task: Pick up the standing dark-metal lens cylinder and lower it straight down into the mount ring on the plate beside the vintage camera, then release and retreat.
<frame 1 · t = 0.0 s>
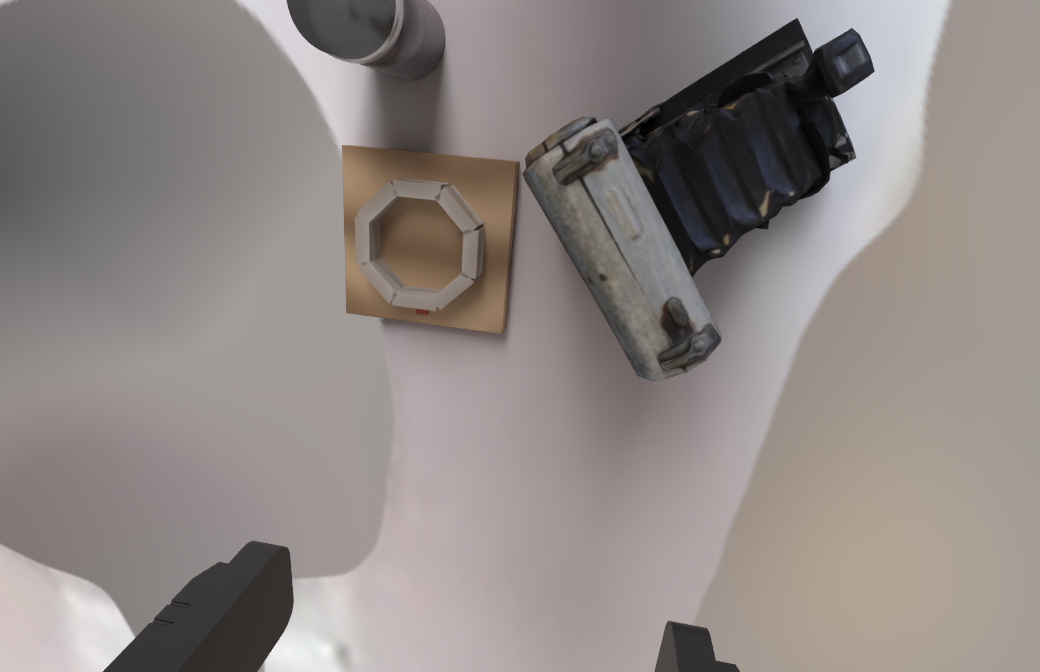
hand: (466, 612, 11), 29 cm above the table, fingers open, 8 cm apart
lens: (407, 37, 35), on the table
vintage camera: (686, 161, 35), on the table
mount: (431, 239, 39), on the table
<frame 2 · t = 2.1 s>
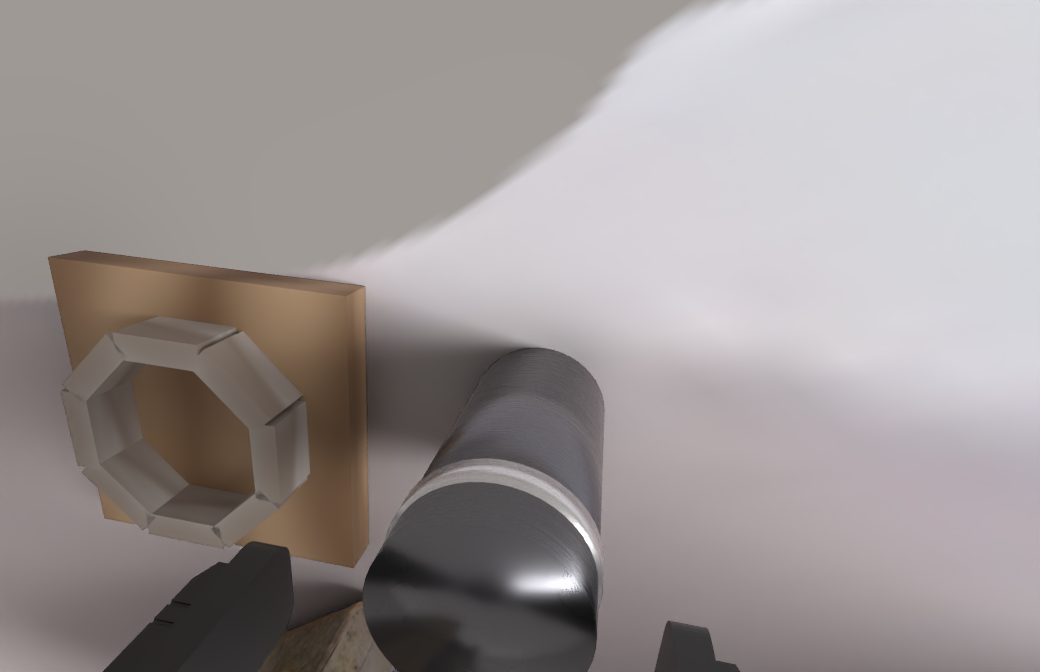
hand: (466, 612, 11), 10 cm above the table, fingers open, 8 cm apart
lens: (538, 409, 20), on the table
mount: (234, 405, 23), on the table
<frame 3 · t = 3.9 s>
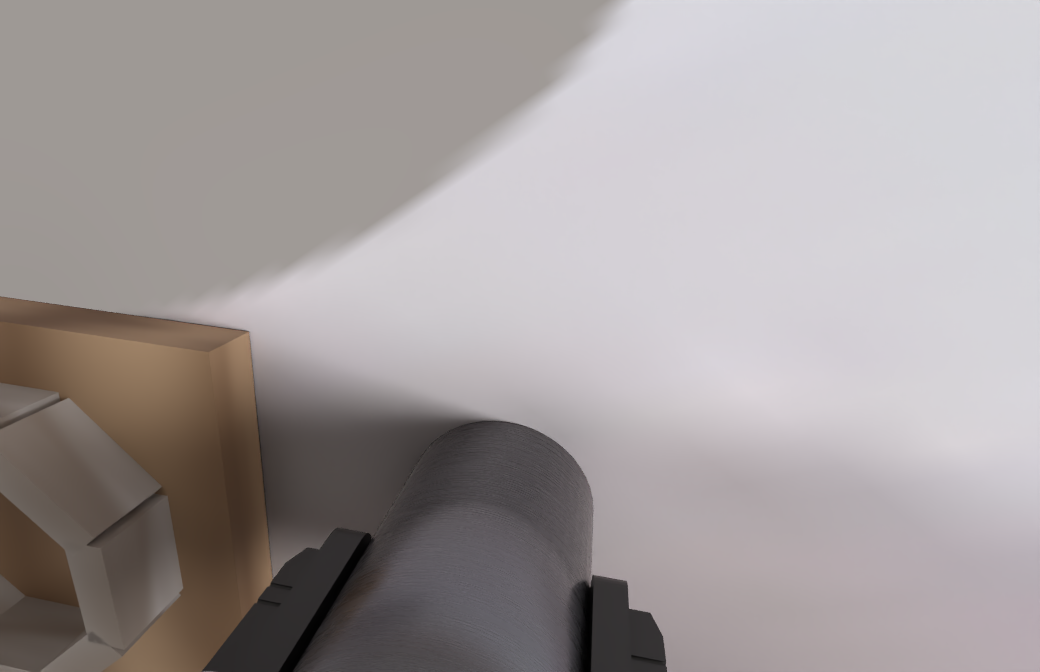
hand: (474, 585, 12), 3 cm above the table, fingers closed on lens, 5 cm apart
lens: (500, 503, 14), on the table, touching gripper
mount: (88, 486, 17), on the table
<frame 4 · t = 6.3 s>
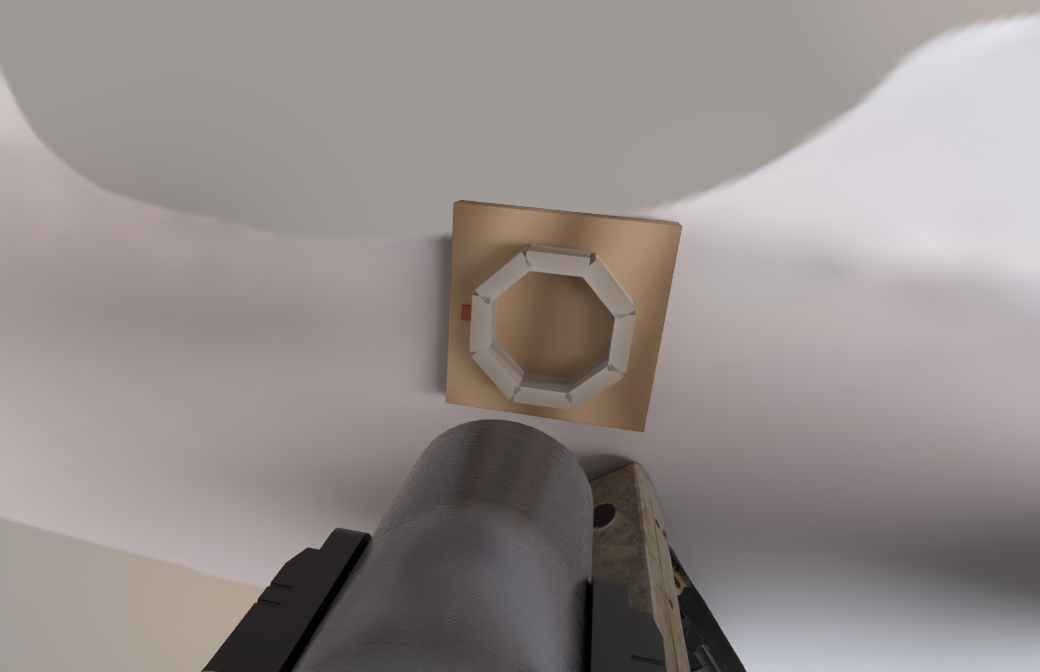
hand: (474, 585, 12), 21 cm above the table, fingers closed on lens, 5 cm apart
lens: (500, 501, 14), point 18 cm above the table, touching gripper
vintage camera: (630, 561, 36), on the table
mount: (555, 314, 31), on the table
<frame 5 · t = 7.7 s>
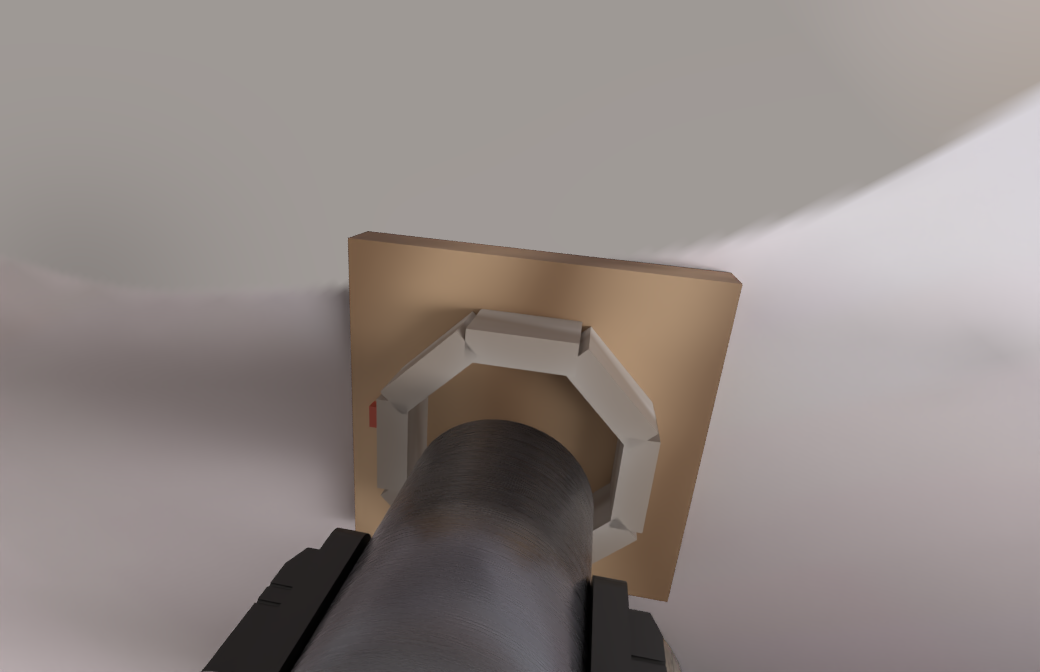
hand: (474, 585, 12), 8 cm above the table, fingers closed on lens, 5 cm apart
lens: (500, 501, 14), point 5 cm above the table, touching gripper
mount: (526, 413, 19), on the table
when the fingers open (5 cm above the table, at t = 8.7 s): lens stays where it is, resting on mount.
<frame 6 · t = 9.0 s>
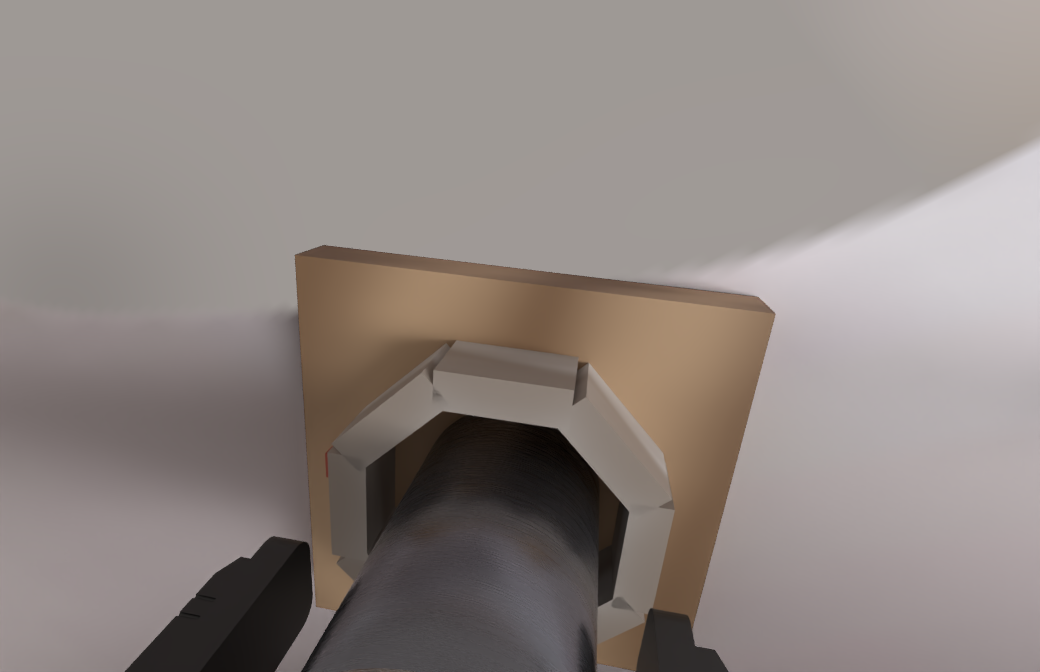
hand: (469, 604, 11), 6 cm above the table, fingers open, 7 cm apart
lens: (510, 486, 15), point 1 cm above the table, touching mount
mount: (512, 458, 17), on the table
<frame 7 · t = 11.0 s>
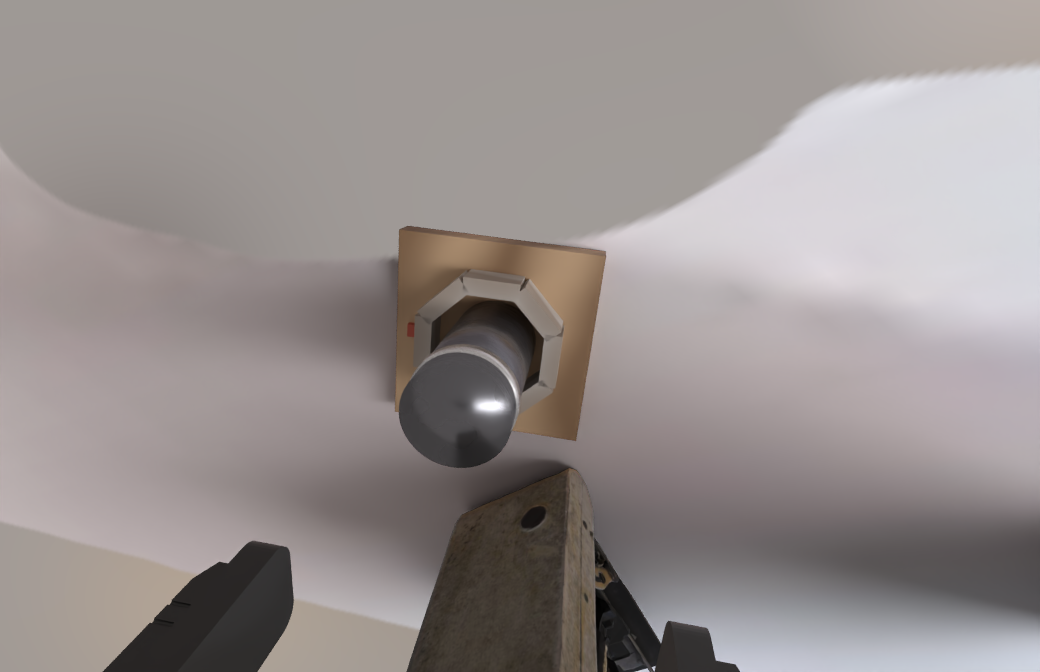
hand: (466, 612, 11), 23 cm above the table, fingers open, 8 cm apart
lens: (494, 340, 32), point 2 cm above the table, touching mount
vintage camera: (569, 558, 39), on the table
mount: (496, 332, 34), on the table
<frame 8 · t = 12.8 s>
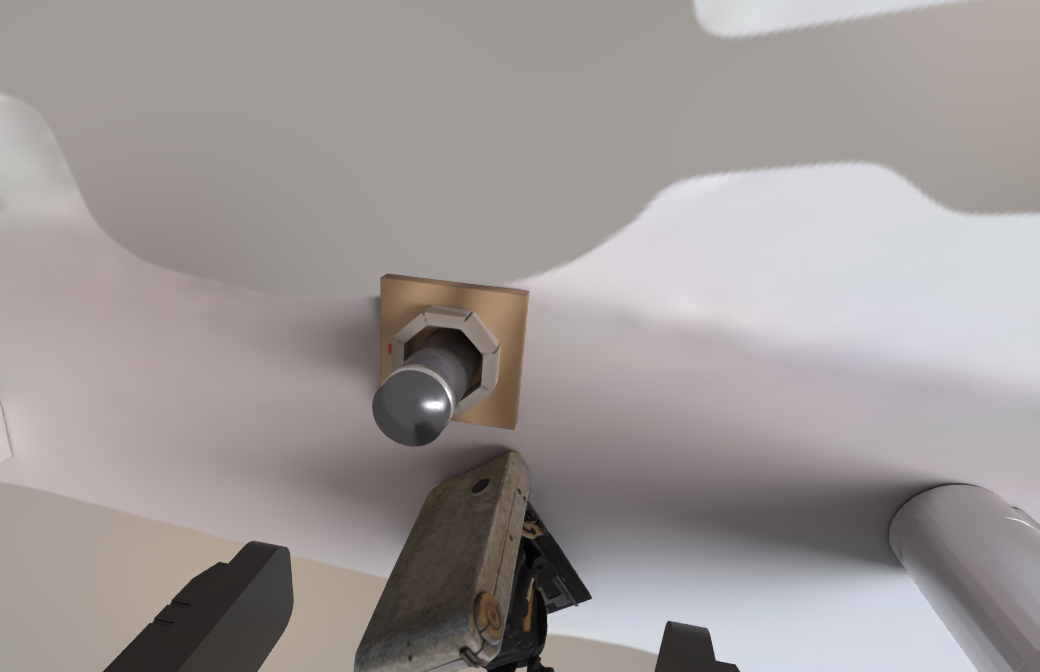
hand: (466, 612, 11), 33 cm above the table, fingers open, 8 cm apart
lens: (451, 356, 44), point 2 cm above the table, touching mount
vintage camera: (517, 522, 51), on the table
mount: (454, 349, 46), on the table
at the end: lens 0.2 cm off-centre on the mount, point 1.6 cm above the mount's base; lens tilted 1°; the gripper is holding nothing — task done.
